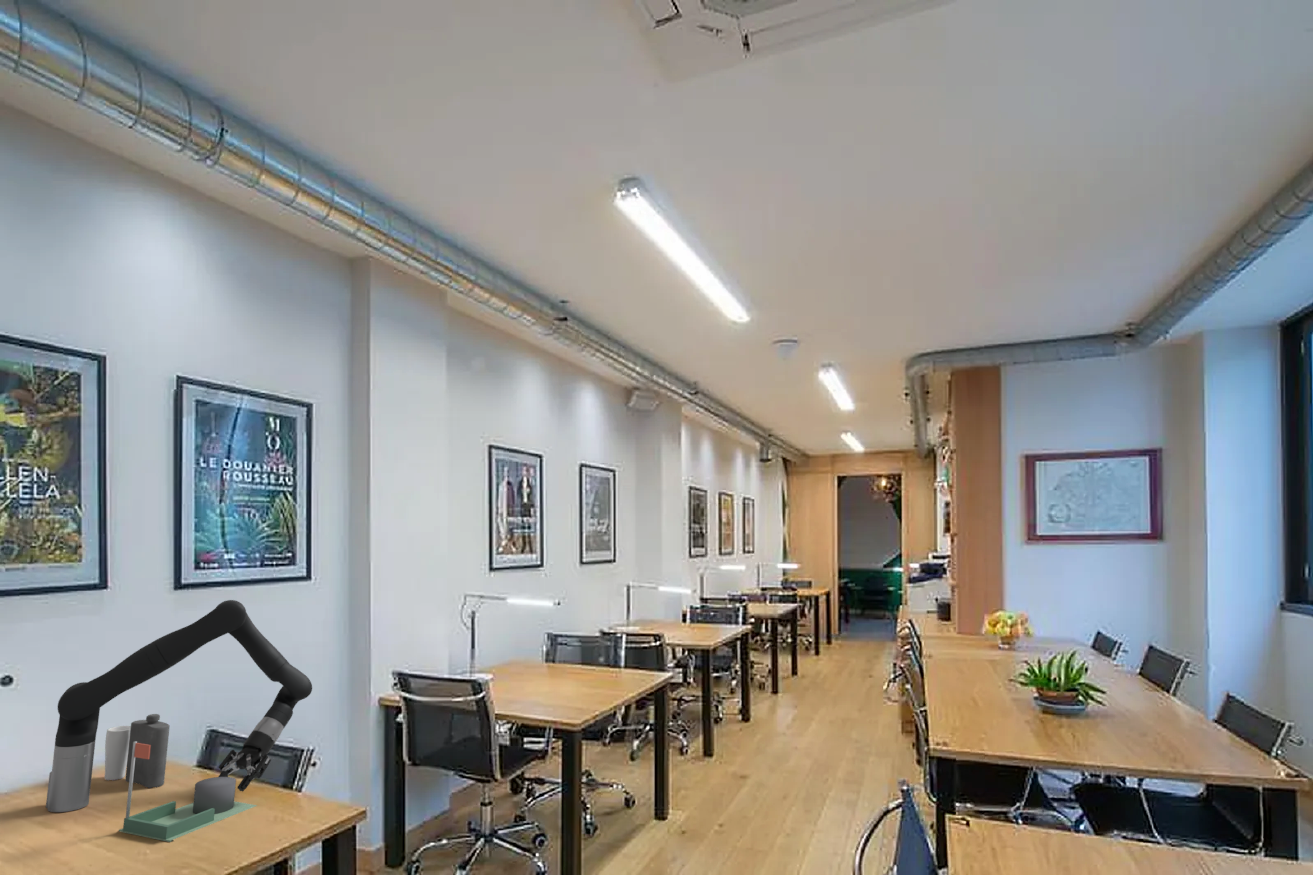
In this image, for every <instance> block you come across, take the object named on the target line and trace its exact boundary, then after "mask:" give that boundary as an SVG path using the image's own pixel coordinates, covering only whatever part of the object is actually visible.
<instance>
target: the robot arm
mask: <svg viewBox="0 0 1313 875" xmlns="http://www.w3.org/2000/svg"><path fill="white" fill-rule="evenodd" d="M226 634H229V635H230V636H232V637H233V638H234V639H235V640H236V641H237V642H238V643H239V644H240V646H242V647H243V649H244V650H245V652H247V653H248V655H249V657H250V658H251V659H252V661H253V662H254V663H255V664H256V666H257V667H258V668H259V670H261V672H263V674H264V675H265V676H266V677H267V678H268V679H269V680H270V681H271V682H274V683H279V684H280V685H282V687H281V688H280V689H279V691H278V692H277V695H276V697H274V700H273V702H272V705H271V706H270V707H269V708H268V710H267V711H266V713H264V716H263V717H262V718H261V719H260V721H259V722H258V723H257V724H256V725H255V726H254V729H252V731H251V733H250V734H249V735H248V737H247V738H246V740H245V741H244V742H243V744H242V749H241V750H240V751H239V752H237V751H236V750H235V749H231V750H230V752H229V753H228V754H227V755H226V757H225V758H224V759H223V761H222V762H221V763H220V764H219V766H218V769H220V771H221V772H220V774H219V775H218V776H217V777H229V775H231V774H232V773H233V772H238V771H239V770H244V771H246V775H244V777H243V778H242V780H241V781H240V782H239V784H238V785H237V789H238V790H239V792H244V791H245V790H247V788H248V786H249V785H250V783H251V782H252V781H253V780H255V779H260V778H262V776H263V775H264V773H265V771H266V770H267V768H268V767H269V765H270V764H271V761H272V759H271V758H270V756H268V754H269V752H270V751H271V750H272V748H273V747H274V745H275V744H276V742H277V740H278V739H279V738H280V736H281V735H282V733H283V731H284V729H285V728H286V726H287V725H288V723H289V721H290V720H291V718H292V716H293V714H294V712H293V710H294V709H295V707H296V705H297V704H298V703H299V702H301V701H302V700H304V699H306V698H308V697H309V696H310V695H311V694H312V691H313V684H312V681H311V680H310V678H309V677H308V676H307V675H306V673H305V674H304V673H303V672H302V671H301V670H299V669H298V668H296V667H295V666H293V664H291V663H290V662H289V661H288V660H287V659H286V658H285V657H284V655H283V654H282V653H281V652H280V651H279V650H278V648H276V647H275V646H274V645H273V644H272V643H271V642H270V641H269V639H267V638H266V636H264V634H262V632H260V630H259V629H258V628H257V627H256V625H255V624H254V623H253V621H252V620H251V617H250V616H249V615H248V613H247V609H246V607H245V605H243V604H242V603H241V602H240V601H238V600H234V599H228V600H224V601H222V602H220V603H219V604H218V605H217V606H216V607H215V608H214V609H212V610H211V611H210V612H208V613H207V614H205V615H204V616H202V617H200V618H199V619H198V620H196V621H195V622H192V623H191V624H188V625H187V626H184V627H182V628H180V629H177V630H175V631H172V632H170V633H167V634H165V635H163V636H161V637H159V638H156V639H155V640H154V641H151V642H150V643H148V644H146V645H144V646H143V647H141V648H139V649H137V651H134V652H133V653H132V654H130V655H128V657H126V658H125V659H123V660H122V661H120V662H119V663H118V664H117V665H115V666H114V667H112V668H111V669H110V670H108V671H107V672H105V673H103V674H101V675H100V676H97V677H95V678H93V679H91V680H90V681H87V682H85V681H83V682H77V683H75V684H73V685H71V686H70V687H68V688H67V689H66V690H65V692H63V693H62V695H61V696H60V698H59V699H58V703H57V713H58V715H59V717H58V718H59V719H58V726H57V729H56V734H55V740H54V749H53V750H54V751H53V759H52V766H51V767H52V768H51V771H50V772H49V775H48V776H49V777H48V783H47V792H46V802H45V809H47V811H48V812H51V813H66V812H71V811H76V810H79V809H83V808H85V807H87V806H88V805H89V803H90V793H91V785H92V778H93V777H92V775H93V767H94V766H93V765H94V757H95V749H96V748H95V747H96V738H97V732H98V726H99V719H100V710H101V707H103V706H104V705H106V704H108V703H109V702H110V701H112V700H113V699H116V697H118V696H119V695H121V694H123V693H124V692H127V691H129V690H132V689H133V688H134V687H137V686H140V685H141V684H143V683H145V682H147V681H149V680H151V679H153V678H154V677H156V676H158V675H160V674H162V673H164V672H165V671H166V670H168V669H170V668H172V667H174V666H175V665H177V664H178V663H180V662H182V661H183V660H184V659H186V658H187V657H189V656H190V655H191V654H193V653H195V652H196V651H197V650H198V649H200V648H202V647H203V646H205V645H206V644H208V643H210V642H212V641H214V640H216V639H218V638H220V637H222V636H225V635H226Z"/></svg>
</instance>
